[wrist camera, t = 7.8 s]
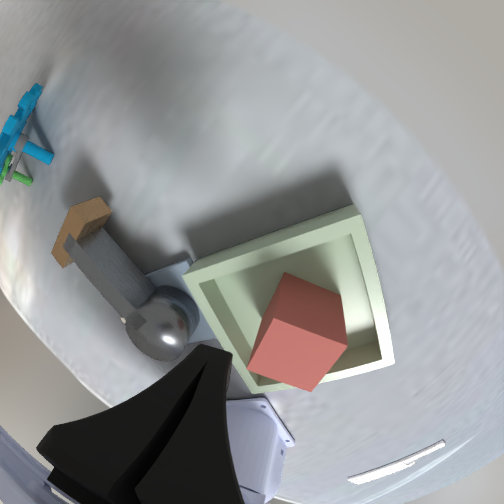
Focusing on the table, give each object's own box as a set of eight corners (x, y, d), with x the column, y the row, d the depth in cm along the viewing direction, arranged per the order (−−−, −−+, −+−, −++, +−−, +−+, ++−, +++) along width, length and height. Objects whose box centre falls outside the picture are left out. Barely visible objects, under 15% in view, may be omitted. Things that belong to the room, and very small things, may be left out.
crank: (213, 315, 19) (197, 344, 16) (175, 343, 21) (158, 369, 18) (102, 195, 18) (71, 206, 15) (78, 238, 20) (51, 252, 17)
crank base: (229, 331, 20) (227, 335, 20) (140, 347, 24) (137, 351, 23) (190, 257, 19) (186, 261, 18) (104, 290, 22) (100, 293, 21)
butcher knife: (449, 446, 23) (450, 452, 22) (362, 481, 29) (362, 486, 28) (441, 437, 22) (443, 444, 21) (347, 475, 28) (347, 481, 27)
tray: (388, 341, 18) (394, 363, 16) (258, 372, 22) (252, 393, 19) (353, 204, 15) (361, 214, 13) (196, 259, 19) (181, 275, 16)
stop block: (341, 295, 17) (348, 346, 12) (313, 338, 19) (311, 391, 14) (284, 271, 17) (273, 317, 13) (261, 318, 19) (246, 369, 14)
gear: (46, 61, 13) (-15, 136, 9) (94, 90, 18) (52, 171, 13) (9, 138, 18) (-29, 214, 14) (47, 158, 23) (19, 235, 19)
